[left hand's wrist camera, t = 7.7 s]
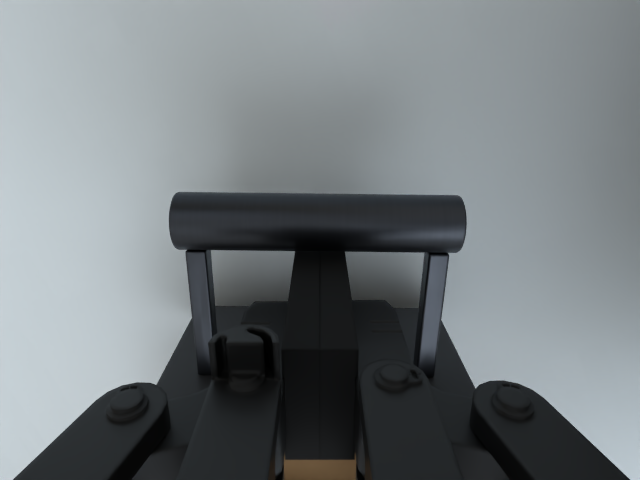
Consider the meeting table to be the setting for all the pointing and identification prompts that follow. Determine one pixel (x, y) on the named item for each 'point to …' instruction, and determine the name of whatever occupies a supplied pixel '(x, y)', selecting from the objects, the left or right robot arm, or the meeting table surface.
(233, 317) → the drawer
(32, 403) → the meeting table surface
